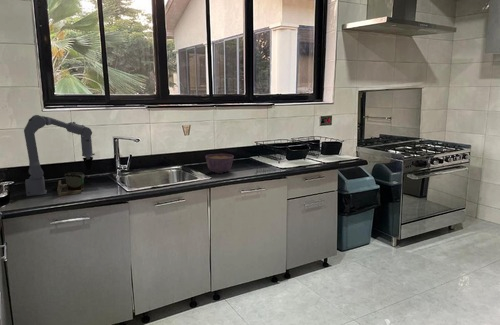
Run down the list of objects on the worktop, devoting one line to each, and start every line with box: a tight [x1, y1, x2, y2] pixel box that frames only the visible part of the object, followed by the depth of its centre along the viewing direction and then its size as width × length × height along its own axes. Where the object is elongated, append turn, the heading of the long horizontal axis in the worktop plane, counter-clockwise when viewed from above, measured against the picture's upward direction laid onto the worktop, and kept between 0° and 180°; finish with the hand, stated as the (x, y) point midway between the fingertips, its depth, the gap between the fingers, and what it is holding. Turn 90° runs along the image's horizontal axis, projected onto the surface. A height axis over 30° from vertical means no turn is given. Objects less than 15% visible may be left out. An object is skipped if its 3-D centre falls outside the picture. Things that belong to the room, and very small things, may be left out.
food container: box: [63, 171, 85, 193], centre depth 218 cm, size 12×6×10 cm, turn 74°
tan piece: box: [56, 179, 82, 198], centre depth 217 cm, size 12×24×4 cm, turn 25°
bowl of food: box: [204, 153, 235, 174], centre depth 263 cm, size 20×20×12 cm
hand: (88, 169), depth 226 cm, fingers closed
